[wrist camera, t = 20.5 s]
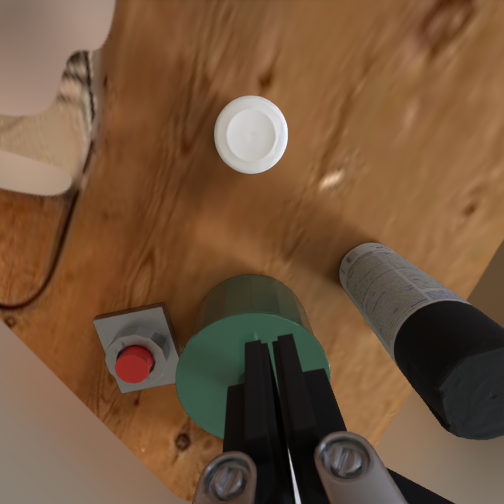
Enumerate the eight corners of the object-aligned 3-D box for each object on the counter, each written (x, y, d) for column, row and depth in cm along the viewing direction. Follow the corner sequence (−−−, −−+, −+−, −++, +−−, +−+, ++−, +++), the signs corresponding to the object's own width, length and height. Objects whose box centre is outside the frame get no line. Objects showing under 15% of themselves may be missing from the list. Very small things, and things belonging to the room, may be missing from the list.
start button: (115, 348, 37) (109, 358, 35) (147, 342, 36) (142, 351, 35) (126, 375, 38) (120, 386, 36) (157, 369, 38) (153, 380, 36)
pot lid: (158, 324, 29) (132, 378, 22) (315, 292, 28) (338, 338, 21) (199, 445, 33) (187, 522, 26) (337, 420, 32) (361, 492, 25)
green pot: (184, 286, 37) (165, 331, 28) (295, 264, 37) (311, 302, 28) (211, 379, 41) (202, 444, 32) (312, 359, 41) (332, 420, 32)
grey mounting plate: (96, 315, 38) (84, 329, 35) (164, 301, 38) (157, 314, 35) (124, 386, 41) (115, 404, 38) (187, 374, 41) (183, 391, 38)
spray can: (346, 304, 38) (445, 459, 19) (329, 252, 37) (421, 366, 17) (402, 285, 38) (562, 425, 19) (388, 231, 36) (551, 325, 17)
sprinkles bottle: (216, 133, 33) (197, 124, 20) (255, 105, 32) (261, 77, 19) (242, 173, 34) (241, 189, 21) (280, 147, 33) (303, 146, 20)
